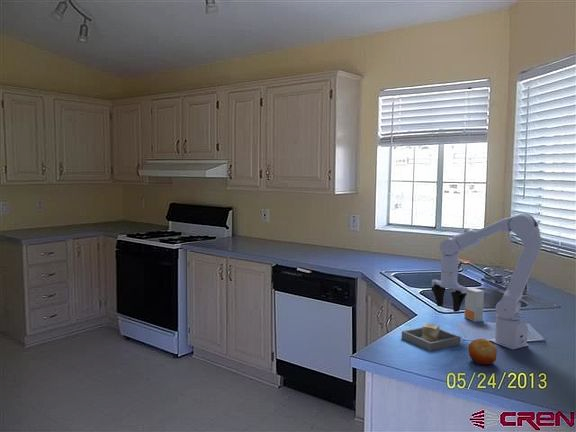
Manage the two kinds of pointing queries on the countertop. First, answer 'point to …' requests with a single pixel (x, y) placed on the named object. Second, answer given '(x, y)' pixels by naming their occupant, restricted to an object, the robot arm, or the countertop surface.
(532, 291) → the countertop surface
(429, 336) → the birch block
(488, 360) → the fruit
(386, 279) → the countertop surface
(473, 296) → the skincare box
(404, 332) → the low pen
